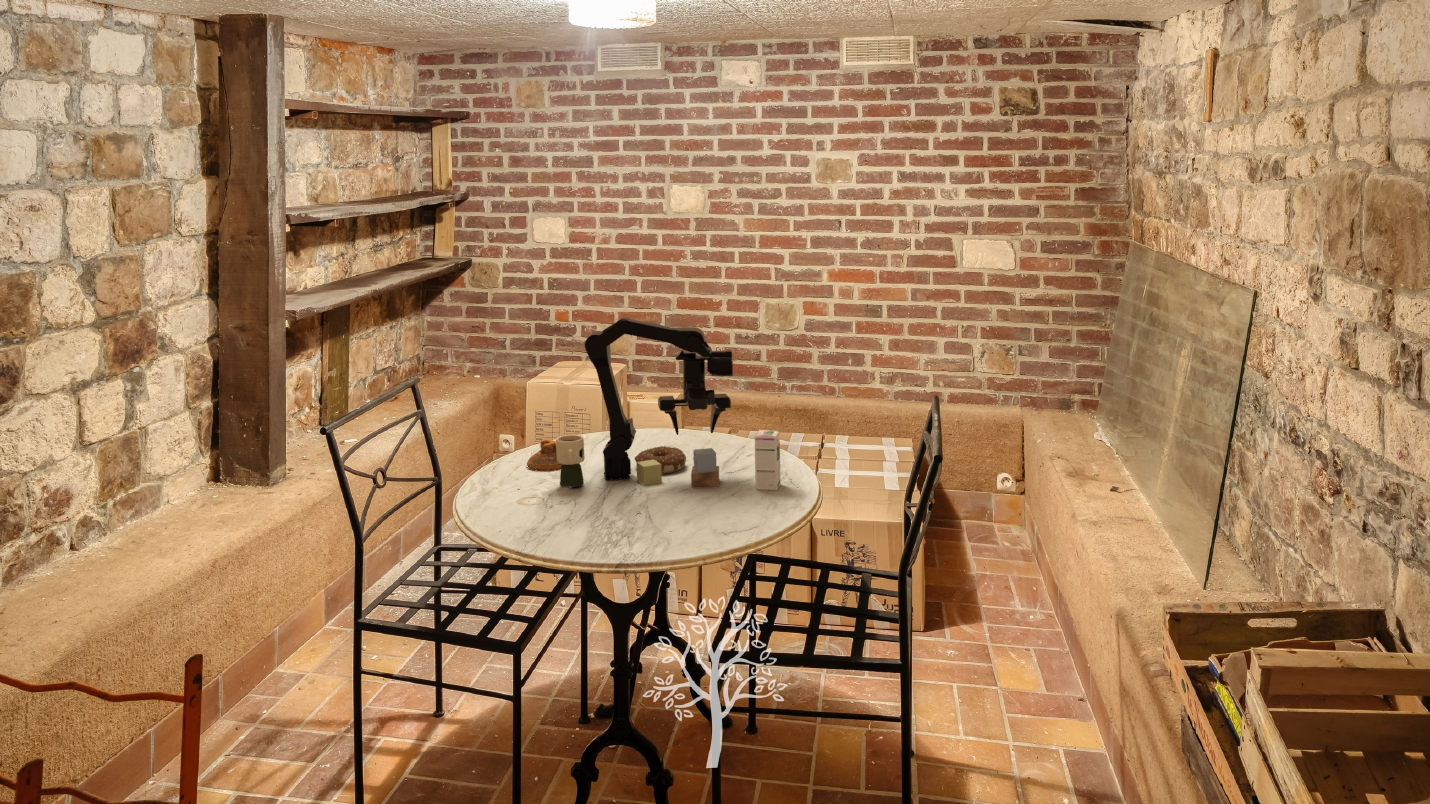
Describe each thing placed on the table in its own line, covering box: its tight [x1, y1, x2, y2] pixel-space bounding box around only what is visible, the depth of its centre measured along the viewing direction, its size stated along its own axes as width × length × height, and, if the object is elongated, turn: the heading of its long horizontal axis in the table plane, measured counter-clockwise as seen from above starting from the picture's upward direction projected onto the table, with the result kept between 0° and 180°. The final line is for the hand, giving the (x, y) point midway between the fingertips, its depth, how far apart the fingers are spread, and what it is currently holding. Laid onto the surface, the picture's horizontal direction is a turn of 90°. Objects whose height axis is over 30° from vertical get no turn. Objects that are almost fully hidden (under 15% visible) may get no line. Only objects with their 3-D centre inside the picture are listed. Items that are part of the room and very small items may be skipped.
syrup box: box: [754, 429, 781, 491], centre depth 259 cm, size 6×6×14 cm
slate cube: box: [692, 447, 717, 473], centre depth 263 cm, size 5×5×5 cm
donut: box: [633, 445, 687, 475], centre depth 278 cm, size 14×14×5 cm
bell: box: [526, 439, 562, 472], centre depth 282 cm, size 12×12×7 cm
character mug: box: [555, 434, 585, 488], centre depth 262 cm, size 11×7×13 cm, turn 9°
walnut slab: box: [690, 465, 720, 489], centre depth 264 cm, size 7×7×4 cm
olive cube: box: [635, 460, 663, 486], centre depth 266 cm, size 5×5×5 cm
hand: (694, 433), depth 268 cm, fingers open, 9 cm apart
